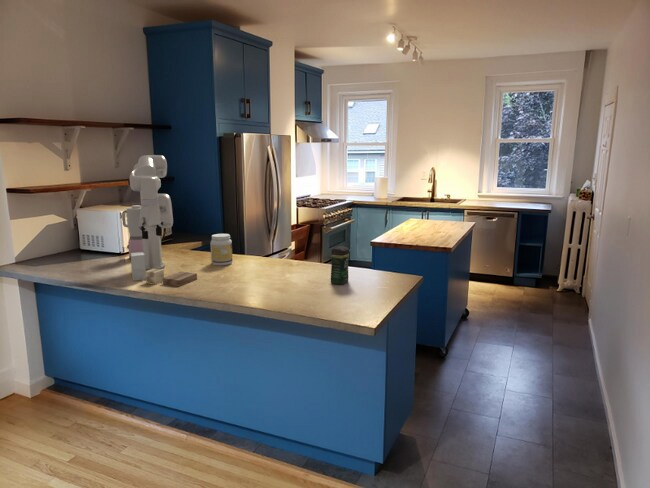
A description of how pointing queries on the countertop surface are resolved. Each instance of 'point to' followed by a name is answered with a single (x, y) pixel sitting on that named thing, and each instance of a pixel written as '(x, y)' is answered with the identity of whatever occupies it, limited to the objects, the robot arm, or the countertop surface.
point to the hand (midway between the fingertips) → (152, 237)
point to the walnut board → (179, 278)
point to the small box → (138, 266)
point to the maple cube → (154, 276)
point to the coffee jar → (339, 265)
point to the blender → (133, 229)
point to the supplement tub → (221, 249)
